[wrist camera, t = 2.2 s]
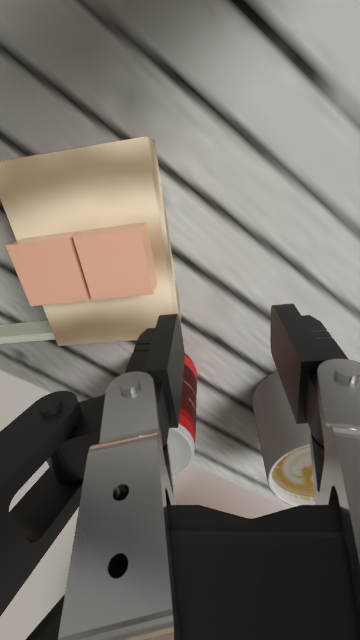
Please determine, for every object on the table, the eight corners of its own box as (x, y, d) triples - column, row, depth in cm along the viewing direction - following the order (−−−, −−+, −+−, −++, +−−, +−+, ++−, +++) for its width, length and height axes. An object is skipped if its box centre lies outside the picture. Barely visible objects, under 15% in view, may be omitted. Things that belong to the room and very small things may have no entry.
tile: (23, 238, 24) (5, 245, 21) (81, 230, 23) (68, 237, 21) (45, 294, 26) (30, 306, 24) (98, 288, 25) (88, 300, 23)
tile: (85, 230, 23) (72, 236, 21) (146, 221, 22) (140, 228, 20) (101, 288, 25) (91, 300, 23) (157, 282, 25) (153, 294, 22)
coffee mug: (303, 438, 38) (334, 521, 29) (236, 411, 36) (247, 490, 27) (378, 364, 31) (445, 442, 23) (301, 329, 30) (341, 397, 21)
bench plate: (17, 163, 25) (-14, 163, 21) (154, 140, 23) (145, 136, 20) (74, 326, 32) (58, 345, 28) (181, 316, 30) (178, 336, 27)
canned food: (117, 369, 34) (84, 448, 25) (164, 330, 31) (146, 404, 22) (163, 405, 37) (149, 491, 27) (210, 373, 34) (213, 456, 24)
